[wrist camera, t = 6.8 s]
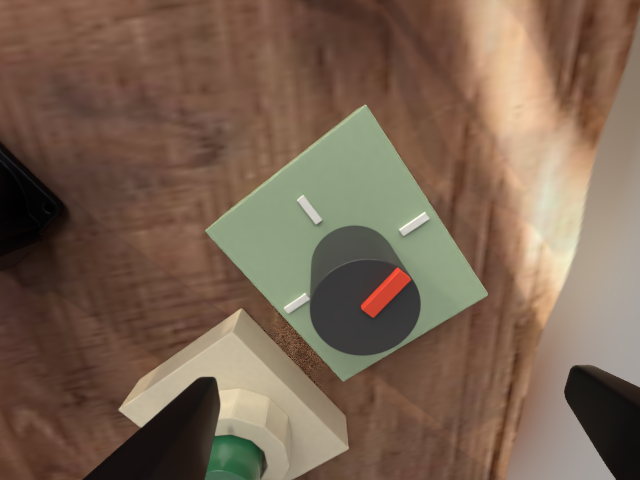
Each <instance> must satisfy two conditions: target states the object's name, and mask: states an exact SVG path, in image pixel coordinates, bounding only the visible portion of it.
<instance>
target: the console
mask: <svg viewBox="0 0 640 480" xmlns="http://www.w3.org/2000/svg"><path fill="white" fill-rule="evenodd" d="M355 225H356V226H364V227H368V228H371V229H373V230H375V231H377V232H378V233H380V234H381V235H382V236H384V237H385V238H386V240H387V241H388V242H389V244H390V245H391V247H392V248H393V250H394V251H395V253H396V254H397V256H398V257H399V259H400V260H401V262H402V263H403V265H404V267H405V268H406V270H407V271H408V273H409V274H410V276H411V277H412V279H413V280H414V282H415V284H416V285H417V288H418V290H419V294H420V299H421V310H420V315H419V318H418V321H417V324H416V325H415V327H414V329H413V330H412V332H411V333H410V334H409V336H408V337H407V338H406V339H405V340H403V341H402V342H401V343H400V344H398V345H397V346H395V347H394V348H392V349H390V350H388V351H385V352H382V353H379V354H375V355H367V356H358V355H350V354H346V353H343V352H340V351H338V350H336V349H334V348H332V347H330V346H329V345H328V344H326V343H325V342H324V341H323V340H322V339H321V338H320V336H319V335H318V334H317V333H316V331H315V329H314V327H313V324H312V322H311V318H310V283H311V261H312V256H313V253H314V250H315V248H316V247H317V245H318V244H319V242H320V241H321V240H322V239H323V238H324V237H325V236H326V235H328V234H329V233H330V232H332V231H334V230H336V229H338V228H342V227H345V226H355ZM205 232H206V233H207V234H208V235H209V236H210V237H211V239H212V240H213V241H214V242H215V243H216V244H217V245H218V246H219V247H220V248H221V249H222V251H223V252H224V253H225V254H226V255H227V256H228V257H229V258H230V259H231V260H232V261H233V263H234V264H235V265H236V266H237V267H238V268H239V269H240V270H241V271H242V272H243V273H244V275H245V276H246V277H247V278H248V279H249V280H250V281H251V282H252V283H253V284H254V285H255V287H256V288H257V289H258V290H259V291H260V292H261V293H262V294H263V295H264V296H265V297H266V298H267V300H268V301H269V302H270V303H271V304H272V305H273V306H274V307H275V308H276V309H277V310H278V312H279V313H280V314H281V315H282V316H283V317H284V318H285V319H286V320H287V321H288V322H289V324H290V325H291V326H292V327H293V328H294V329H295V330H296V331H297V332H298V333H299V334H300V336H301V337H302V338H303V339H304V340H305V341H306V342H307V343H308V344H309V345H310V346H311V348H312V349H313V350H314V351H315V352H316V353H317V354H318V355H319V356H320V357H321V358H322V360H323V361H324V362H325V363H326V364H327V365H328V366H329V367H330V368H331V369H332V370H333V371H334V373H335V374H336V375H337V376H338V377H339V378H340V379H341V380H342V381H345V380H347V379H349V378H350V377H352V376H354V375H355V374H357V373H359V372H360V371H362V370H364V369H365V368H367V367H369V366H370V365H372V364H374V363H375V362H377V361H379V360H380V359H382V358H384V357H386V356H387V355H389V354H391V353H392V352H394V351H396V350H397V349H399V348H401V347H402V346H404V345H406V344H407V343H409V342H411V341H412V340H414V339H416V338H417V337H419V336H421V335H422V334H424V333H426V332H428V331H429V330H431V329H433V328H434V327H436V326H438V325H439V324H441V323H443V322H444V321H446V320H448V319H449V318H451V317H453V316H454V315H456V314H458V313H459V312H461V311H463V310H464V309H466V308H468V307H470V306H471V305H473V304H475V303H476V302H478V301H480V300H481V299H483V298H485V297H486V296H488V293H487V291H486V290H485V288H484V287H483V285H482V284H481V282H480V281H479V279H478V277H477V276H476V274H475V273H474V271H473V270H472V268H471V267H470V265H469V263H468V262H467V260H466V259H465V257H464V256H463V254H462V253H461V251H460V249H459V248H458V246H457V245H456V243H455V242H454V240H453V239H452V237H451V235H450V234H449V232H448V231H447V229H446V228H445V226H444V225H443V223H442V221H441V220H440V218H439V217H438V215H437V214H436V212H435V211H434V209H433V207H432V206H431V204H430V203H429V201H428V200H427V198H426V197H425V195H424V193H423V192H422V190H421V189H420V187H419V186H418V184H417V183H416V181H415V179H414V178H413V176H412V175H411V173H410V172H409V170H408V169H407V167H406V165H405V164H404V162H403V161H402V159H401V158H400V156H399V155H398V153H397V151H396V150H395V148H394V147H393V145H392V144H391V142H390V141H389V139H388V137H387V136H386V134H385V133H384V131H383V130H382V128H381V127H380V125H379V123H378V122H377V120H376V119H375V117H374V116H373V114H372V113H371V111H370V109H369V108H368V106H367V105H364V106H362V107H361V108H359V109H357V110H355V111H354V112H353V113H351V114H350V115H349V116H348V117H346V118H345V119H344V120H343V121H341V122H340V123H339V124H338V125H336V126H335V127H334V128H332V129H331V130H330V131H329V132H327V133H326V134H325V135H324V136H322V137H321V138H320V139H318V140H317V141H316V142H315V143H313V144H312V145H311V146H310V147H308V148H307V149H306V150H304V151H303V152H302V153H301V154H299V155H298V156H297V157H296V158H294V159H293V160H292V161H291V162H289V163H288V164H287V165H285V166H284V167H283V168H282V169H280V170H279V171H278V172H277V173H275V174H274V175H273V176H271V177H270V178H269V179H268V180H266V181H265V182H264V183H263V184H261V185H260V186H259V187H257V188H256V189H255V190H254V191H252V192H251V193H250V194H249V195H247V196H246V197H245V198H244V199H242V200H241V201H240V202H238V203H237V204H236V205H235V206H233V207H232V208H231V209H230V210H228V211H227V212H226V213H224V214H223V215H222V216H221V217H220V218H219V219H218V220H217V221H215V222H214V223H213V224H212V225H211V226H210V227H209V228H208V229H207V230H206V231H205Z"/></svg>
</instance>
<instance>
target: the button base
mask: <svg viewBox="0 0 640 480" xmlns="http://www.w3.org/2000/svg"><path fill="white" fill-rule="evenodd" d="M199 377H215V378H216V380H217V384H218V390H219V396H220V402H221V406H220V414H219V418H218V423H217V427H216V432H215V436H221V435H234V436H238V437H241V438H245V439H248V440H251V441H252V442H253V443H255V444H256V445H257V446H258V447H259V448H260V450H261V452H262V456H263V461H262V467H261V473H260V479H259V480H293V479H295V478H297V477H299V476H300V475H302V474H304V473H306V472H308V471H310V470H311V469H313V468H315V467H317V466H319V465H321V464H323V463H324V462H326V461H328V460H330V459H332V458H334V457H335V456H337V455H339V454H341V453H343V452H345V451H346V450H348V449H349V445H348V435H347V426H346V416H345V415H344V414H343V413H342V412H341V411H340V410H339V409H338V408H337V406H336V405H335V404H334V403H333V402H332V401H331V400H330V399H329V398H328V397H327V396H326V395H325V394H324V393H323V392H322V391H321V390H320V389H319V388H318V387H317V386H316V385H315V384H314V382H313V381H312V380H311V379H310V378H309V377H308V376H307V375H306V374H305V373H304V372H303V371H302V370H301V369H300V368H299V367H298V366H297V365H296V364H295V363H294V362H293V361H292V360H291V358H290V357H289V356H288V355H287V354H286V353H285V352H284V351H283V350H282V349H281V348H280V347H279V346H278V345H277V344H276V343H275V342H274V341H273V340H272V339H271V338H270V337H269V336H268V335H267V333H266V332H265V331H264V330H263V329H262V328H261V327H260V326H259V325H258V324H257V323H256V322H255V321H254V320H253V319H252V318H251V317H250V316H249V315H248V314H247V313H246V312H245V311H244V309H243V308H241V309H239V310H238V311H236V312H235V313H234V314H232V315H231V316H229V317H228V318H227V319H225V320H224V321H222V322H221V323H219V324H218V325H217V326H215V327H214V328H212V329H211V330H209V331H208V332H207V333H205V334H204V335H202V336H201V337H199V338H198V339H197V340H195V341H194V342H192V343H191V344H189V345H188V346H187V347H185V348H184V349H182V350H181V351H179V352H178V353H177V354H175V355H174V356H172V357H171V358H170V359H168V360H167V361H165V362H164V363H162V364H161V365H160V366H158V367H157V368H155V369H154V370H152V371H151V372H150V373H148V374H147V375H145V376H144V377H142V378H141V379H140V380H139V381H138V383H137V384H136V386H135V387H134V389H133V390H132V391H131V393H130V394H129V396H128V397H127V398H126V400H125V401H124V403H123V404H122V405H121V407H120V408H119V411H120V412H121V413H123V414H124V415H125V416H126V417H128V418H129V419H130V420H132V421H133V422H134V423H135V424H137V425H138V426H139V427H140V428H142V427H143V426H144V425H145V424H146V423H147V422H148V421H149V420H151V419H152V418H153V417H154V416H155V415H156V414H157V413H159V412H160V411H161V410H162V409H163V408H164V407H165V406H166V405H168V404H169V403H170V402H171V401H172V400H173V399H174V398H176V397H177V396H178V395H179V394H180V393H181V392H182V391H183V390H185V389H186V388H187V387H188V386H189V385H190V384H191V383H193V382H194V381H195V380H196V379H197V378H199Z"/></svg>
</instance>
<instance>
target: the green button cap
mask: <svg viewBox="0 0 640 480" xmlns="http://www.w3.org/2000/svg"><path fill="white" fill-rule="evenodd" d="M262 461H263V456H262V452H261V450H260V448H259V447H258V446H257V445H256V444H255V443H253V442H252V441H251V440H248V439H245V438H241V437H238V436H234V435H221V436H214V441H213V446H212V450H211V455H210V459H209V464H208V468H207V472H206V477H205V480H259V479H260V473H261V467H262Z"/></svg>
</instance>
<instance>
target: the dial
mask: <svg viewBox="0 0 640 480" xmlns="http://www.w3.org/2000/svg"><path fill="white" fill-rule="evenodd" d="M420 310H421V299H420V294H419V290H418V288H417V285H416V284H415V282H414V280H413V279H412V277H411V276H410V274H409V273H408V271H407V270H406V268H405V267H404V265H403V263H402V262H401V260H400V259H399V257H398V256H397V254H396V253H395V251H394V250H393V248H392V247H391V245H390V244H389V242H388V241H387V240H386V238H385V237H384V236H382V235H381V234H380V233H378V232H377V231H375V230H373V229H371V228H368V227H364V226H356V225H355V226H345V227H342V228H338V229H336V230H334V231H332V232H330V233H329V234H328V235H326V236H325V237H324V238H323V239H322V240H321V241H320V242H319V244H318V245H317V247H316V248H315V250H314V253H313V256H312V261H311V283H310V318H311V322H312V324H313V327H314V329H315V331H316V333H317V334H318V335H319V336H320V338H321V339H322V340H323V341H324V342H325V343H326V344H328V345H329V346H330V347H332V348H334V349H336V350H338V351H340V352H343V353H346V354H350V355H358V356H367V355H375V354H379V353H382V352H385V351H388V350H390V349H392V348H394V347H395V346H397V345H398V344H400V343H401V342H402V341H403V340H405V339H406V338H407V337H408V336H409V334H410V333H411V332H412V330H413V329H414V327H415V325H416V324H417V321H418V318H419V315H420Z"/></svg>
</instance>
